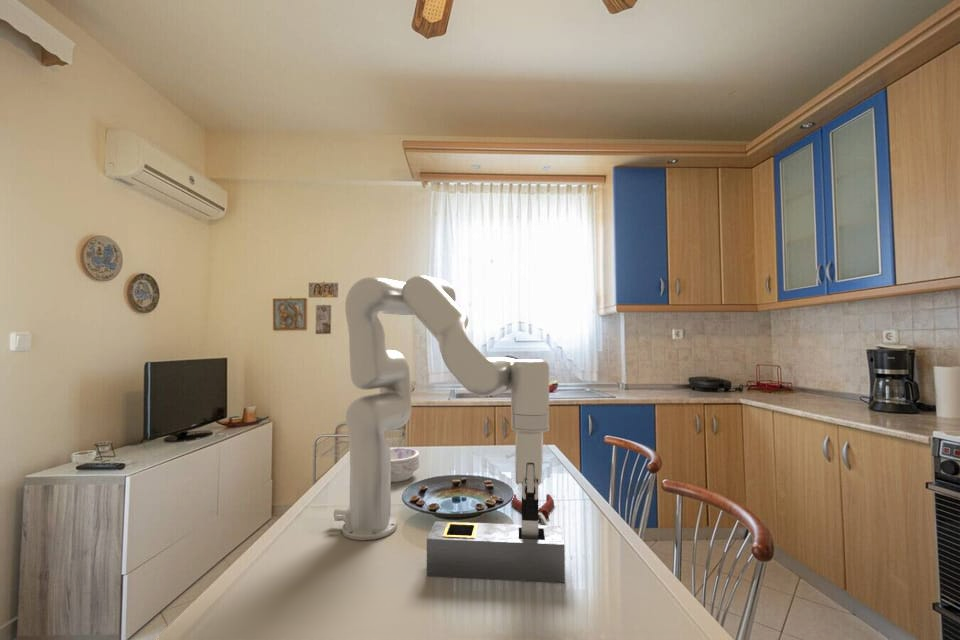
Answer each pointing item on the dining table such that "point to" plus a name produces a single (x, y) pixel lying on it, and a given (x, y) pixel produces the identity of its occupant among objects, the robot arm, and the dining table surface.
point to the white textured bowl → (403, 463)
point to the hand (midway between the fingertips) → (529, 514)
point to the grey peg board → (495, 552)
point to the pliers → (543, 511)
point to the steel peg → (530, 525)
